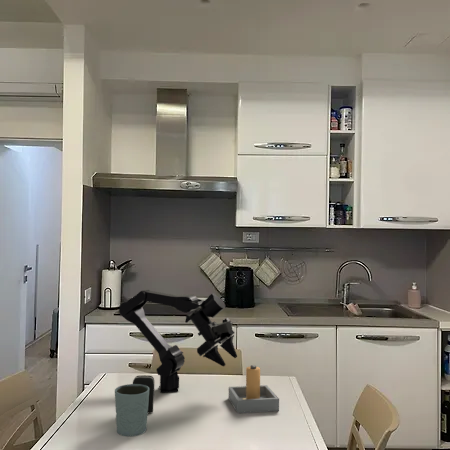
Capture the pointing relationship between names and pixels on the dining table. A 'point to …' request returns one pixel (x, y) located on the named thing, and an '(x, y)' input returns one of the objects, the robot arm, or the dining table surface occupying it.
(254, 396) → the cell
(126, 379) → the dining table surface
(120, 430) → the green cup
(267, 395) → the gray square tray
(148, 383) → the battery charger
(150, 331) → the robot arm
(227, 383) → the dining table surface
